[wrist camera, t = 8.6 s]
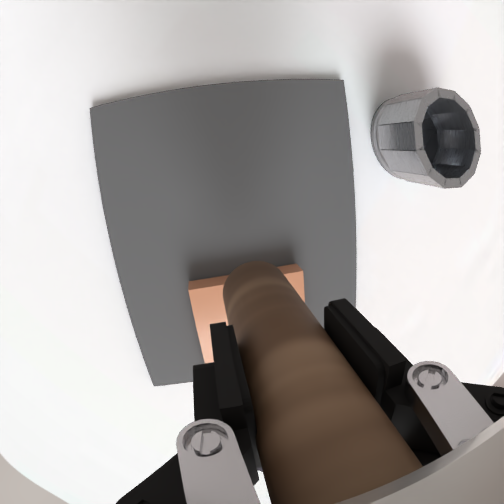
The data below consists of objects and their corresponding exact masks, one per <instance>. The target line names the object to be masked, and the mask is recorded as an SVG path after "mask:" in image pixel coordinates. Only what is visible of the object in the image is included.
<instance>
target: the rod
mask: <svg viewBox="0 0 504 504" xmlns="http://www.w3.org/2000/svg"><path fill="white" fill-rule="evenodd" d="M223 300H224V305H225V310H226V315H227V320H228V324H229V325H233V327H234V332H235V336H236V340H237V344H238V348H239V352H240V356H241V361H242V365H243V369H244V373H245V377H246V381H247V385H248V389H249V392H250V396H251V401H252V405H253V411H254V416H255V422H256V428H257V434H256V447H257V451H258V455H259V458H260V462H261V466H262V470H263V474H264V478H265V482H266V485H267V489H268V493H269V497H270V500H271V504H335V503H338V502H341V501H344V500H347V499H350V498H353V497H355V496H358V495H361V494H363V493H366V492H368V491H371V490H374V489H376V488H378V487H381V486H383V485H386V484H388V483H390V482H392V481H395V480H397V479H399V478H401V477H403V476H405V475H408V474H410V473H412V472H414V471H416V470H418V469H420V468H422V467H423V466H422V464H421V463H420V461H419V460H418V458H417V457H416V456H415V454H414V453H413V451H412V450H411V449H410V447H409V446H408V444H407V443H406V442H405V440H404V439H403V437H402V436H401V435H400V433H399V432H398V430H397V429H396V428H395V426H394V425H393V423H392V422H391V421H390V419H389V418H388V416H387V415H386V414H385V412H384V411H383V409H382V408H381V407H380V405H379V404H378V402H377V401H376V400H375V398H374V397H373V396H372V394H371V393H370V391H369V390H368V389H367V387H366V386H365V384H364V383H363V382H362V380H361V379H360V378H359V376H358V375H357V373H356V372H355V371H354V369H353V368H352V367H351V365H350V364H349V362H348V361H347V360H346V358H345V357H344V356H343V354H342V353H341V351H340V350H339V349H338V347H337V346H336V345H335V343H334V342H333V341H332V339H331V338H330V336H329V335H328V334H327V332H326V331H325V330H324V328H323V327H322V326H321V324H320V323H319V321H318V320H317V319H316V317H315V316H314V315H313V313H312V312H311V311H310V309H309V308H308V307H307V305H306V304H305V302H304V301H303V300H302V298H301V297H300V296H299V294H298V293H297V292H296V290H295V289H294V288H293V286H292V285H291V284H290V282H289V281H288V280H287V278H286V277H285V276H284V274H283V273H282V272H281V271H280V269H278V268H277V267H276V266H274V265H273V264H271V263H268V262H264V261H251V262H247V263H244V264H242V265H240V266H238V267H237V268H236V269H234V270H233V271H232V272H231V273H230V274H229V276H228V277H227V279H226V281H225V283H224V287H223Z"/></svg>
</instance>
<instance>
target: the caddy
mask: <svg viewBox="0 0 504 504" xmlns="http://www.w3.org/2000/svg"><path fill="white" fill-rule="evenodd" d="M478 128H479V127H478V124H477V122H476V119H475V117H474V114H473V112H472V110H471V108H470V107H469V105H468V104H467V103H466V102H465V101H464V100H463V99H462V98H461V97H460V96H459V95H458V94H457V93H456V92H455V91H452V90H447V89H442V88H432V89H427V90H422V91H417V92H412V93H407V94H403V95H399V96H398V97H396V98H392V99H389V100H387V101H385V102H384V103H383V104H381V106H380V107H379V108H378V109H377V111H376V113H375V115H374V117H373V120H372V125H371V141H372V146H373V150H374V153H375V155H376V157H377V159H378V161H379V163H380V164H381V165H382V167H383V168H384V169H385V170H386V171H387V172H388V173H390V174H391V175H393V176H395V177H397V178H400V179H405V180H406V181H409V182H414V183H420V184H425V185H430V186H435V187H440V188H458V187H462V186H463V185H464V184H465V183H466V182H467V181H468V180H469V179H470V178H471V177H472V176H473V175H474V174H475V171H476V167H477V164H478V161H479V157H480V154H481V153H480V152H481V147H480V132H479V129H478Z"/></svg>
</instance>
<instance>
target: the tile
mask: <svg viewBox="0 0 504 504" xmlns="http://www.w3.org/2000/svg"><path fill="white" fill-rule="evenodd" d="M277 268H278V269H280V271H281V272H282V273H283V274H284V276H285V277H286V278H287V280H288V281H289V282H290V284H291V285H292V286H293V288H294V289H295V290H296V292H297V293H298V294H299V296H300V297H301V298H302V300H303V301H304V302H305V295H304V276H303V270H302V269H301V268H300V267H299V266H298V265H297V264H290V265H285V266H279V267H277ZM228 276H229V275H225V276H219V277H213V278H207V279H201V280H194V281H189V286H188V291H189V296H190V301H191V305H192V310H193V315H194V319H195V324H196V328H197V332H198V337H199V341H200V345H201V349H202V354H203V358H204V362H205V363H212V362H214V360H213V351H212V342H211V333H210V324H213V323H220V322H226V326H228V325H229V324H228V320H227V315H226V310H225V305H224V300H223V287H224V283H225V281H226V279H227V277H228Z"/></svg>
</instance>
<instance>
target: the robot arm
mask: <svg viewBox="0 0 504 504" xmlns="http://www.w3.org/2000/svg"><path fill="white" fill-rule="evenodd" d="M324 330H325V331H326V332H327V334H328V335H329V336H330V338H331V339H332V341H333V342H334V343H335V345H336V346H337V347H338V349H339V350H340V351H341V353H342V354H343V356H344V357H345V358H346V360H347V361H348V362H349V364H350V365H351V367H352V368H353V369H354V371H355V372H356V373H357V375H358V376H359V378H360V379H361V380H362V382H363V383H364V384H365V386H366V387H367V389H368V390H369V391H370V393H371V394H372V396H373V397H374V398H375V400H376V401H377V402H378V404H379V405H380V407H381V408H382V409H383V411H384V412H385V414H386V415H387V416H388V418H389V419H390V421H391V422H392V423H393V425H394V426H395V428H396V429H397V430H398V432H399V433H400V435H401V436H402V437H403V439H404V440H405V442H406V443H407V444H408V446H409V447H410V449H411V450H412V451H413V453H414V454H415V456H416V457H417V458H418V460H419V461H420V463H421V464H422V466H423V467H422V468H420V469H418V470H416V471H414V472H412V473H410V474H408V475H405V476H403V477H401V478H399V479H397V480H395V481H392V482H390V483H388V484H386V485H383V486H381V487H378V488H376V489H374V490H371V491H368V492H366V493H363V494H361V495H358V496H355V497H353V498H350V499H347V500H344V501H341V502H338V503H335V504H504V388H502V387H495V386H486V385H478V384H470V383H463V382H460V381H459V380H458V378H457V377H456V376H455V375H454V374H453V373H452V371H451V370H450V369H449V368H448V367H446V366H445V365H443V364H441V363H438V362H434V361H424V362H419V363H417V364H415V365H412V364H411V363H410V362H409V361H408V360H407V359H406V358H405V356H404V355H403V354H402V353H401V352H400V351H399V350H398V349H397V348H396V347H395V346H394V345H393V344H392V343H391V342H390V341H389V340H388V339H387V338H386V337H385V336H384V335H383V334H382V333H381V332H380V331H379V330H378V329H377V328H375V327H374V326H373V325H372V324H371V323H370V322H369V321H368V320H367V319H366V318H365V317H364V316H363V315H362V314H361V313H360V312H359V311H358V310H357V309H356V308H355V307H354V306H353V305H352V304H351V303H350V302H349V301H348V300H347V299H345V298H342V299H338V300H334V301H330V302H329V304H328V306H325V307H324ZM210 333H211V342H212V351H213V360H214V362H212V363H205V364H199V365H193V393H194V418H195V422H192V423H190V424H188V425H187V426H185V427H184V428H183V429H182V430H181V431H180V432H179V435H178V437H177V442H176V446H177V454H176V455H175V456H173V457H172V458H171V459H170V460H169V461H167V462H166V463H165V464H164V465H163V466H161V467H160V468H159V469H158V470H156V471H155V472H154V473H153V474H152V475H150V476H149V477H148V478H146V479H145V480H144V481H143V482H141V483H140V484H139V485H138V486H136V487H135V488H134V489H132V490H131V491H130V492H128V493H127V494H126V495H124V496H123V497H122V498H121V499H120V500H119V501H118V502H117V503H116V504H260V501H259V499H258V496H257V494H256V491H255V489H254V485H255V484H256V483H257V482H258V480H259V477H258V472H257V468H262V466H261V462H260V458H259V455H258V451H257V447H256V434H257V428H256V422H255V416H254V411H253V405H252V401H251V396H250V392H249V389H248V385H247V381H246V377H245V373H244V369H243V365H242V361H241V356H240V352H239V348H238V344H237V340H236V336H235V332H234V327H233V325H228V326H226V322H220V323H213V324H210Z"/></svg>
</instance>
